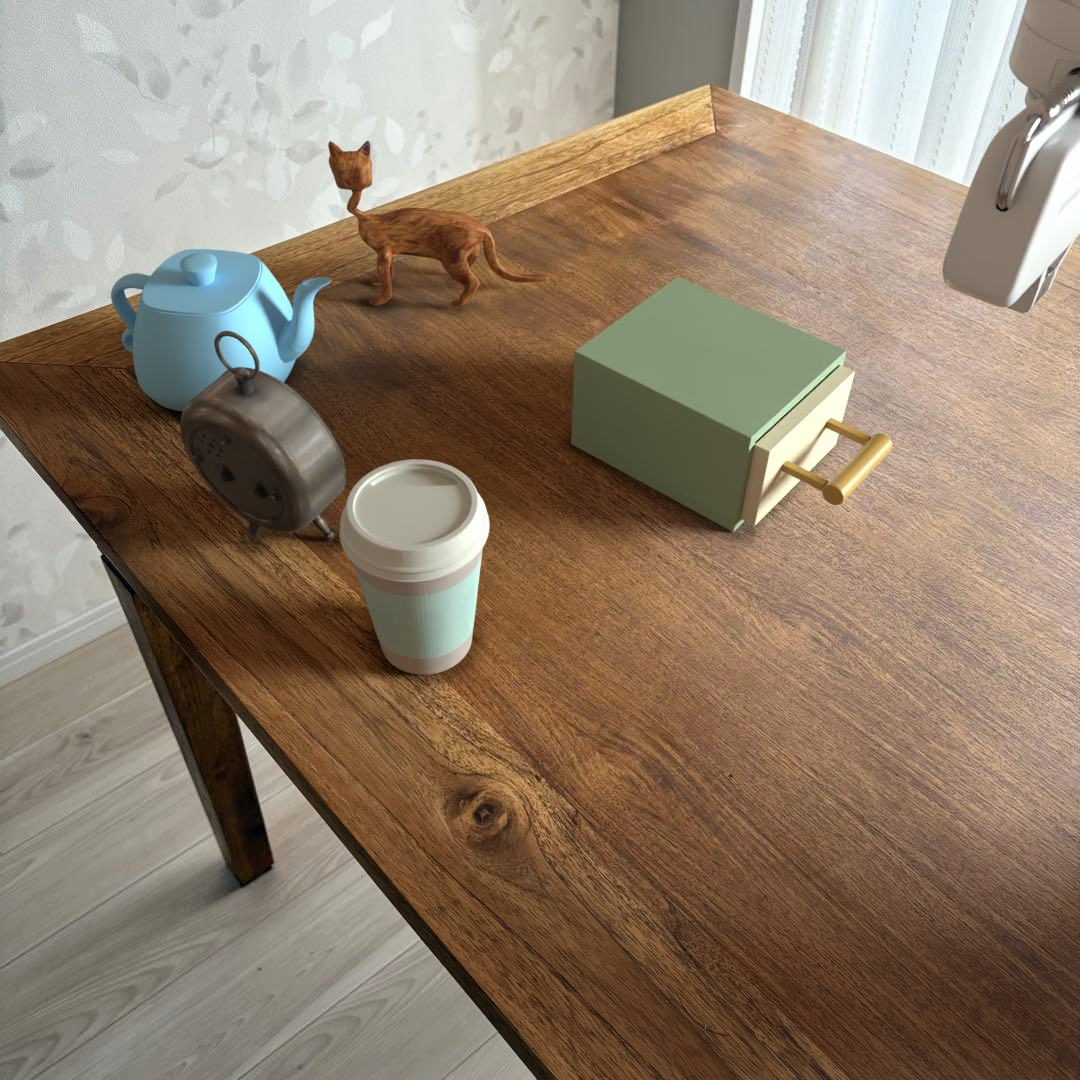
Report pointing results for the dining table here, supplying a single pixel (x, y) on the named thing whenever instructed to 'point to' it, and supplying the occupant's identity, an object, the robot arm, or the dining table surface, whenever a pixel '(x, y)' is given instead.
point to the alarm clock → (263, 449)
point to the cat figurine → (417, 232)
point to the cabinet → (692, 393)
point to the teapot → (211, 321)
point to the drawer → (810, 450)
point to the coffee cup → (417, 559)
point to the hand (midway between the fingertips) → (1022, 298)
